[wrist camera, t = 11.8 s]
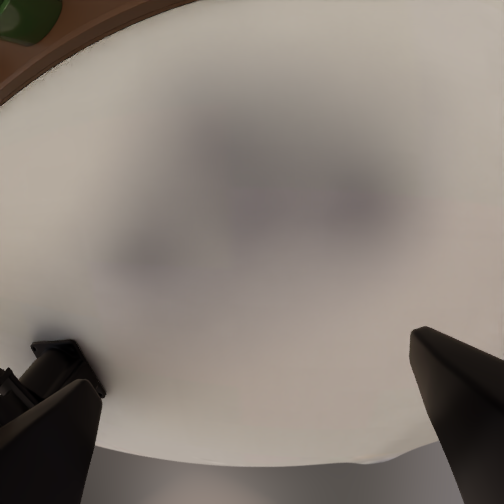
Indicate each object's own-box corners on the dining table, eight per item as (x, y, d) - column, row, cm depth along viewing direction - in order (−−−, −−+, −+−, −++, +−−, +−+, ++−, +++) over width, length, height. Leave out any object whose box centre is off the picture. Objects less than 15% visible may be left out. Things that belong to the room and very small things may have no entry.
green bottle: (18, 58, 14) (-63, 46, 6) (18, 14, 12) (-52, -6, 4) (63, 25, 13) (-18, -6, 5) (62, -18, 12) (-6, -54, 4)
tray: (-40, 144, 17) (-55, 146, 15) (-43, 58, 13) (-56, 57, 11) (252, -13, 13) (250, -29, 11) (219, -96, 10) (215, -111, 8)
